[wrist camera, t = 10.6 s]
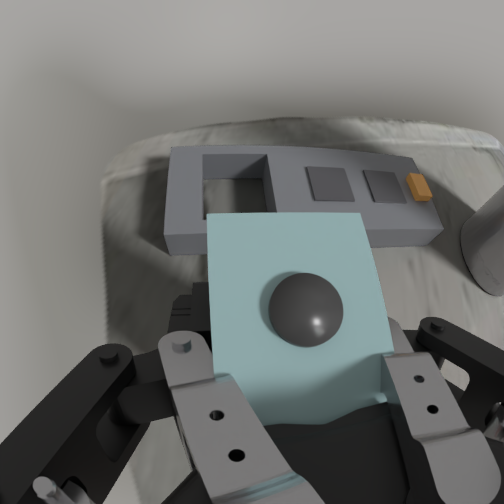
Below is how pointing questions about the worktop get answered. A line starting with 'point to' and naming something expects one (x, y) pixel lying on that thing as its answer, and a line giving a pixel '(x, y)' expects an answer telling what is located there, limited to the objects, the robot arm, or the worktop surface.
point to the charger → (297, 313)
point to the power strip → (304, 190)
